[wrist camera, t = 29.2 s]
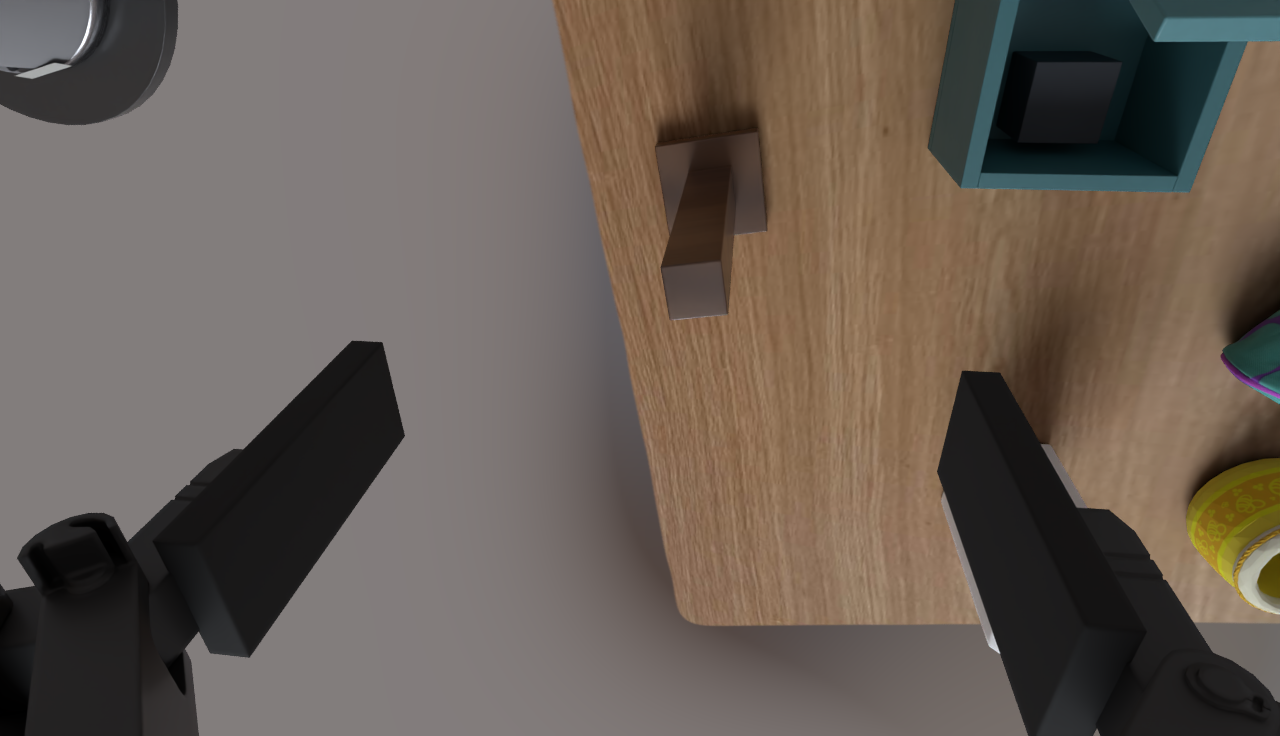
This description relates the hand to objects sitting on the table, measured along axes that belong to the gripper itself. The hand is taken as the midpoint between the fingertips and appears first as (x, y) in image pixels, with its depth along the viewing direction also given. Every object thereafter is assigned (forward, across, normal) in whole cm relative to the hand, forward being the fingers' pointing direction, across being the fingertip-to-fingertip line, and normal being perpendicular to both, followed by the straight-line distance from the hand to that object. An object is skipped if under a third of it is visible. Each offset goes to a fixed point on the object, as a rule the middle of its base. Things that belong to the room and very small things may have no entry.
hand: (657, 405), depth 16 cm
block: (+36, +20, +1) cm, 41 cm away
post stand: (+37, 0, -6) cm, 37 cm away
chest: (+36, +20, +5) cm, 42 cm away
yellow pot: (+37, +45, -31) cm, 66 cm away
